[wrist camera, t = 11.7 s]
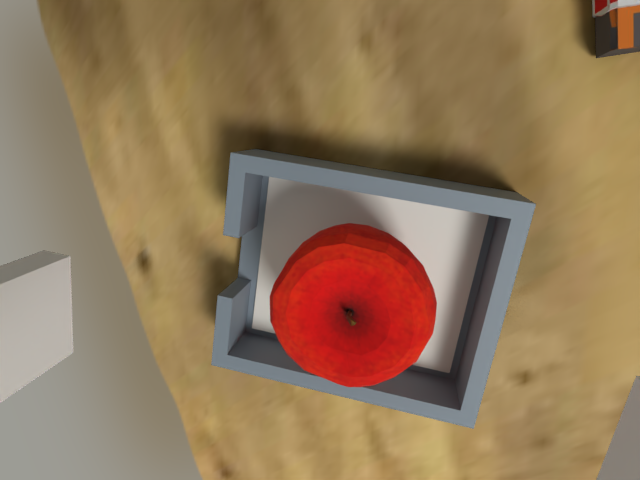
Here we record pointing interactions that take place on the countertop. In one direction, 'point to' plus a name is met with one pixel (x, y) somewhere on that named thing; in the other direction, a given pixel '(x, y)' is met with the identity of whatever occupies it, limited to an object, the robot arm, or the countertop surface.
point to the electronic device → (616, 26)
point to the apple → (353, 306)
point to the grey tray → (405, 225)
